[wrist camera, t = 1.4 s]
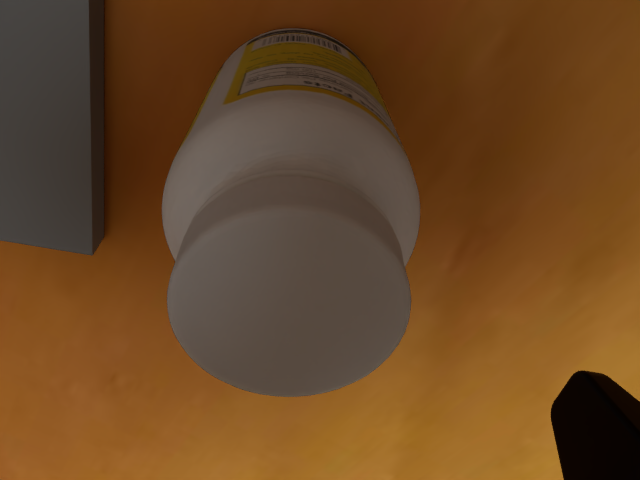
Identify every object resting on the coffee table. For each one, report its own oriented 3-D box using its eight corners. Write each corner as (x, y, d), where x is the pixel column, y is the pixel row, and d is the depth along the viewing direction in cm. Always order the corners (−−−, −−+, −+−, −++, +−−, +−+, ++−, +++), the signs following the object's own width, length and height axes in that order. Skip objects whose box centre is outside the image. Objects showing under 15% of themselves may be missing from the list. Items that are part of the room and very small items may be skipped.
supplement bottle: (282, 216, 19) (261, 461, 10) (175, 95, 16) (37, 288, 8) (412, 132, 17) (510, 341, 9) (315, -17, 15) (324, 79, 6)
